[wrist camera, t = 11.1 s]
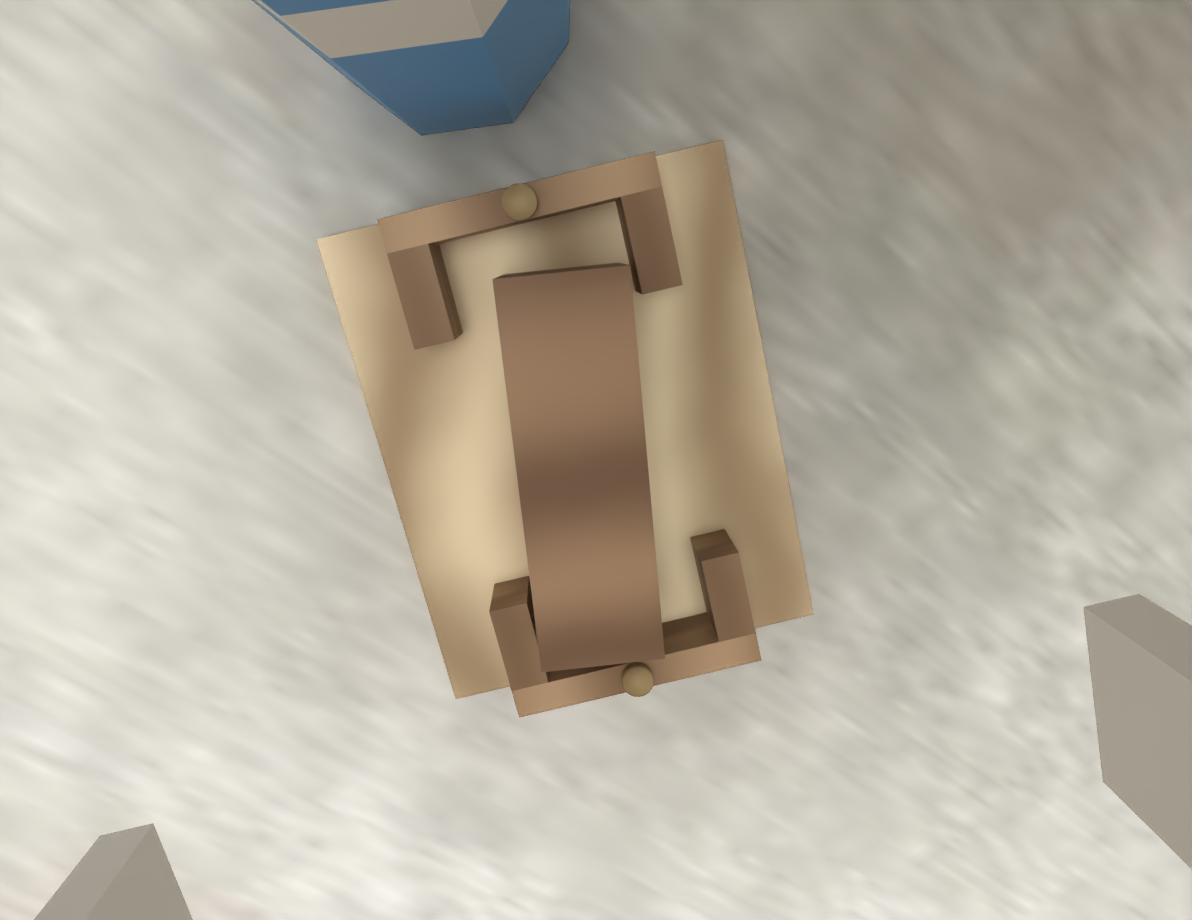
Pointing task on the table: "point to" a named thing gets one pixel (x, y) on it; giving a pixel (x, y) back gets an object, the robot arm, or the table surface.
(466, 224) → the cleat board
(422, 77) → the water bottle
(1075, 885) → the table surface
